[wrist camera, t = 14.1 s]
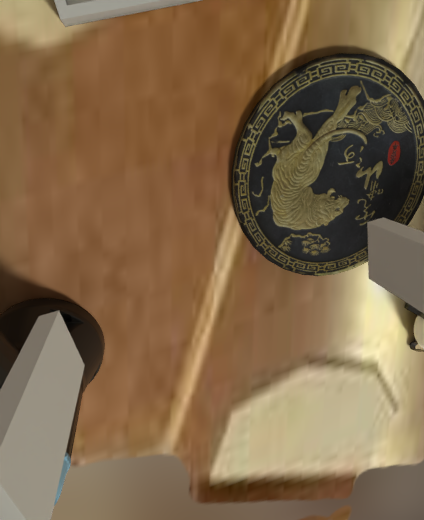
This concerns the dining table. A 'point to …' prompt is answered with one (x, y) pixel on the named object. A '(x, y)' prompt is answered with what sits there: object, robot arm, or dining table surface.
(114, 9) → the tray
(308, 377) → the dining table surface
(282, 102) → the decorative plate
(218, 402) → the dining table surface
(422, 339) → the coffee press
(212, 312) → the dining table surface
